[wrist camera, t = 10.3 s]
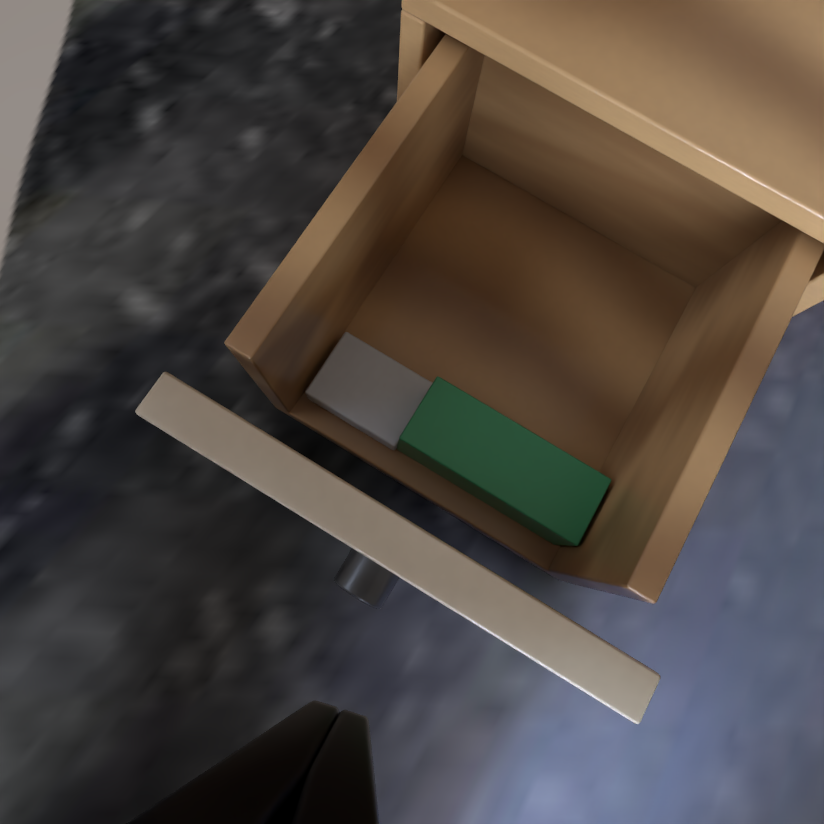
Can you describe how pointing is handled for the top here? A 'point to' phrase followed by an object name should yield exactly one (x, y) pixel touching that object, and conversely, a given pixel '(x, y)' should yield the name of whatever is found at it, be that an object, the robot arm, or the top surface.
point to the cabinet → (670, 83)
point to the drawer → (517, 345)
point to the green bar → (461, 441)
